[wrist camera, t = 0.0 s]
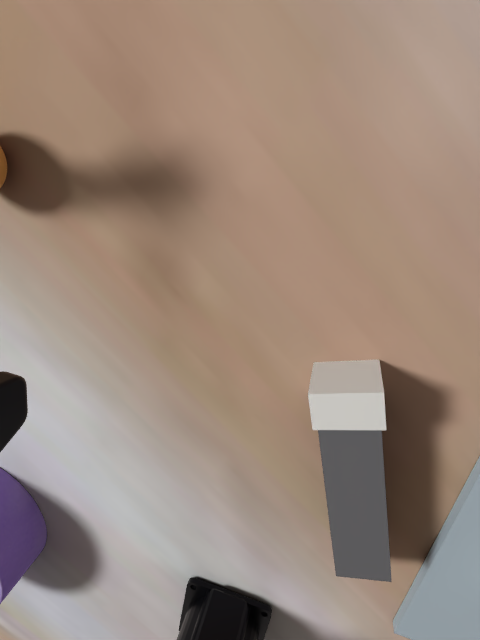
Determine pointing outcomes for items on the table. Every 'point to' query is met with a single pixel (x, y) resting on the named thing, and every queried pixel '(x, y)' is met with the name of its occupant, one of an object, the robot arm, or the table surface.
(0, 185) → the figurine
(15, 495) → the tape roll
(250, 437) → the table surface
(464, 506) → the board
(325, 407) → the rod
